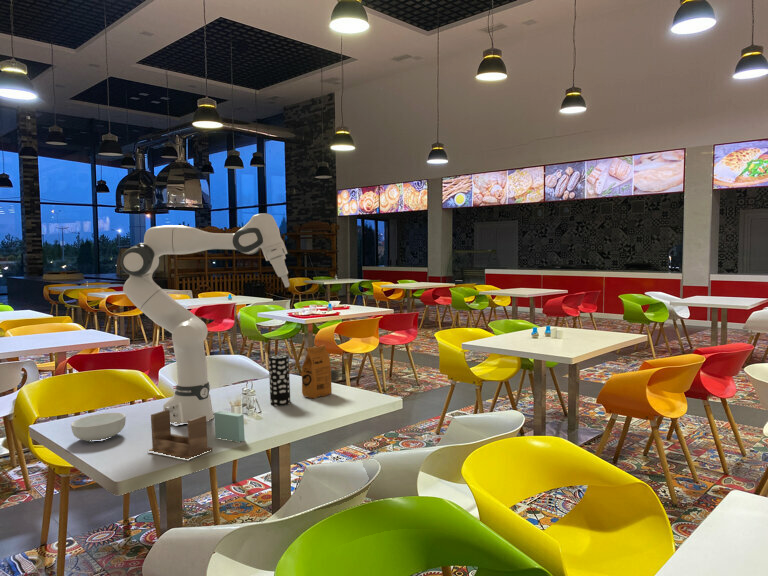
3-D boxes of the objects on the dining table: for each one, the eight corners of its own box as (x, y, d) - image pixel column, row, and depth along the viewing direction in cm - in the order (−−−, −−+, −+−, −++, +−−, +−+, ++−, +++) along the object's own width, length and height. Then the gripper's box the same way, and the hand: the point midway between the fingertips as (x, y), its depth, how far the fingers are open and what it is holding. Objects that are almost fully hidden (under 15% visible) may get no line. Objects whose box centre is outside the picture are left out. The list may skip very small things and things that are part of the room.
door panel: (215, 438, 189) (214, 412, 189) (220, 436, 192) (219, 411, 191) (239, 442, 184) (238, 416, 184) (244, 440, 186) (243, 414, 186)
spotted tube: (266, 405, 230) (264, 358, 229) (276, 400, 238) (274, 354, 237) (284, 406, 228) (282, 358, 227) (293, 401, 236) (292, 355, 235)
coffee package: (299, 396, 245) (297, 347, 244) (320, 390, 254) (318, 343, 253) (313, 399, 238) (311, 349, 237) (334, 393, 247) (333, 345, 246)
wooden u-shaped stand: (148, 453, 177) (145, 416, 176) (173, 443, 185) (171, 408, 185) (187, 461, 168) (185, 422, 167) (212, 450, 177) (210, 414, 176)
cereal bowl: (114, 428, 205) (112, 409, 205) (135, 436, 194) (133, 417, 194) (64, 440, 192) (63, 420, 192) (84, 450, 181) (82, 429, 181)
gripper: (269, 256, 223) (281, 288, 225) (266, 255, 203) (279, 290, 204) (283, 250, 224) (295, 282, 226) (282, 249, 204) (295, 284, 205)
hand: (287, 286), depth 215 cm, fingers open, 8 cm apart
